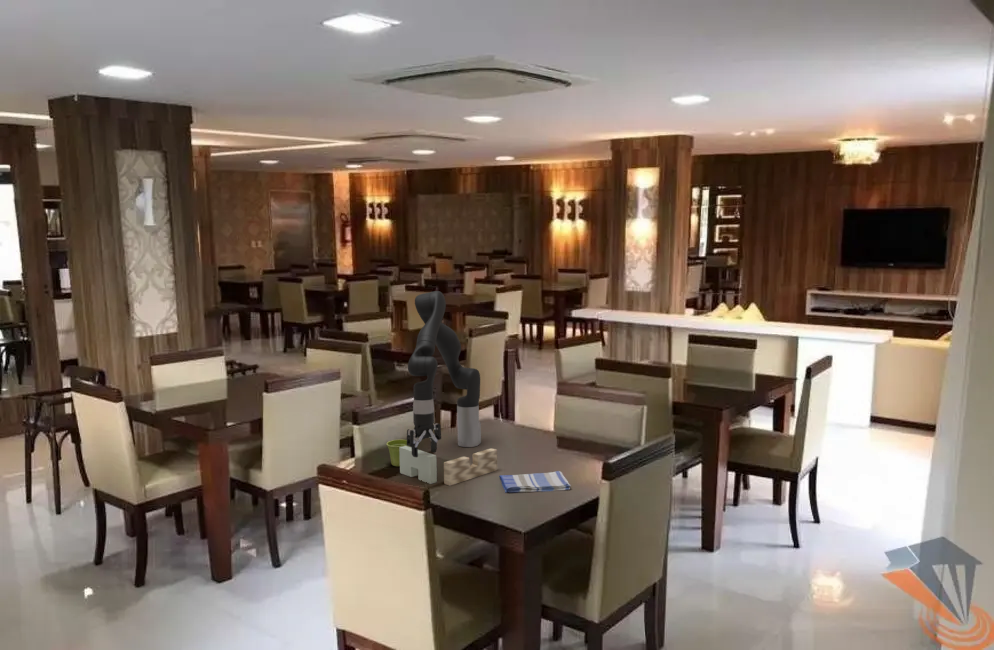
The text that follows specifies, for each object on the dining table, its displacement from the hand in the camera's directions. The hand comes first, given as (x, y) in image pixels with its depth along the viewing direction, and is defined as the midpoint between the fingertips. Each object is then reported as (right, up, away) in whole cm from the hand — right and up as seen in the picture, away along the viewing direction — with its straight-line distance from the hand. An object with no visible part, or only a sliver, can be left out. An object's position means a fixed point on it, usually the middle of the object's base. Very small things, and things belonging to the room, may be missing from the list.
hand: (424, 454), depth 266 cm
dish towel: (+40, -11, -4) cm, 42 cm away
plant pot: (-12, -8, +21) cm, 25 cm away
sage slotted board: (-3, -9, +4) cm, 11 cm away
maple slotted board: (+17, -9, +4) cm, 20 cm away
